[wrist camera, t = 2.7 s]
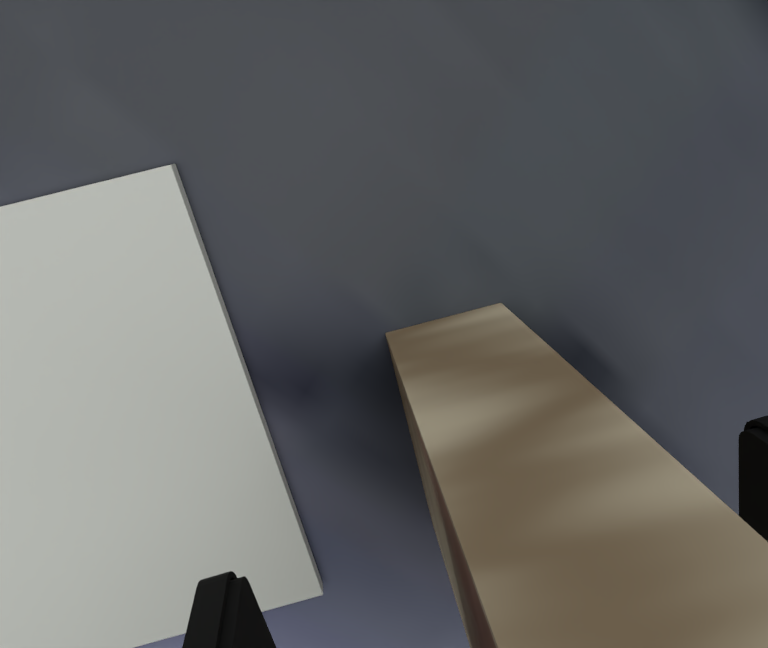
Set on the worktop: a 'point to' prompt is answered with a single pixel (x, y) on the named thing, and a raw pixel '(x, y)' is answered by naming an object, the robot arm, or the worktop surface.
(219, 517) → the mat
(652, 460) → the slab
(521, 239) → the worktop surface
